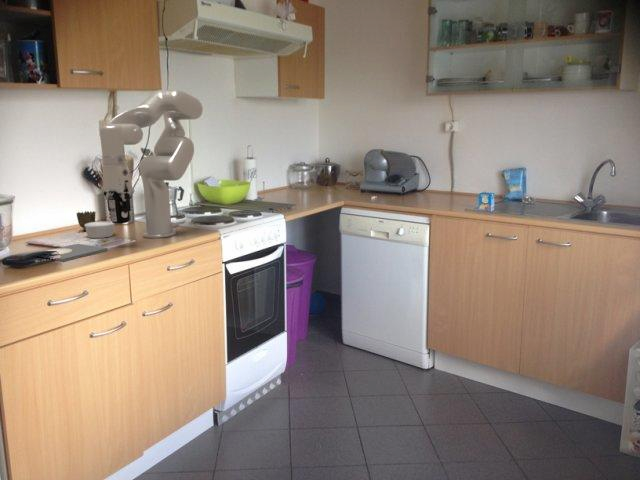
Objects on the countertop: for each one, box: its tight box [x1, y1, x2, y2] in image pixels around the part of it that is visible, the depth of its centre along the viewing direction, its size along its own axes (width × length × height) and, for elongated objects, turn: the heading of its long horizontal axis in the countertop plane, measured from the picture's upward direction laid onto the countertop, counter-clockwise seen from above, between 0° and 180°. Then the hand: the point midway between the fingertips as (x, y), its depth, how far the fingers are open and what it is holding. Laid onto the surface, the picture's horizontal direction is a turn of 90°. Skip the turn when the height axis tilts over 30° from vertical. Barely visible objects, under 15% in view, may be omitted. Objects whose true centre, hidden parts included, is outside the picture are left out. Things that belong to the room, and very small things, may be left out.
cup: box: [76, 210, 97, 233], centre depth 236 cm, size 8×7×8 cm
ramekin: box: [84, 220, 116, 239], centre depth 226 cm, size 11×11×5 cm
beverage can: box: [108, 190, 131, 225], centre depth 203 cm, size 7×7×12 cm
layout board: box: [45, 243, 109, 263], centre depth 196 cm, size 18×16×1 cm
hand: (119, 210), depth 203 cm, fingers closed on beverage can, 6 cm apart
